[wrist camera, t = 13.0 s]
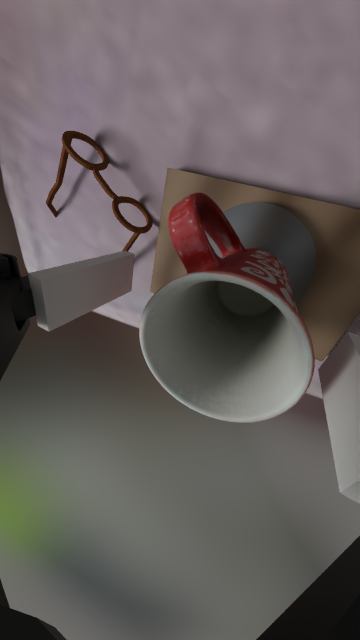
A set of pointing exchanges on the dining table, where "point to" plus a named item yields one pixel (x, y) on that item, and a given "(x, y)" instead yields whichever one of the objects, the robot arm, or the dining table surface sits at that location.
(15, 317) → the robot arm
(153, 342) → the mug
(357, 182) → the dining table surface
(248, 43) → the dining table surface
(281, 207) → the board
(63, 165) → the glasses
